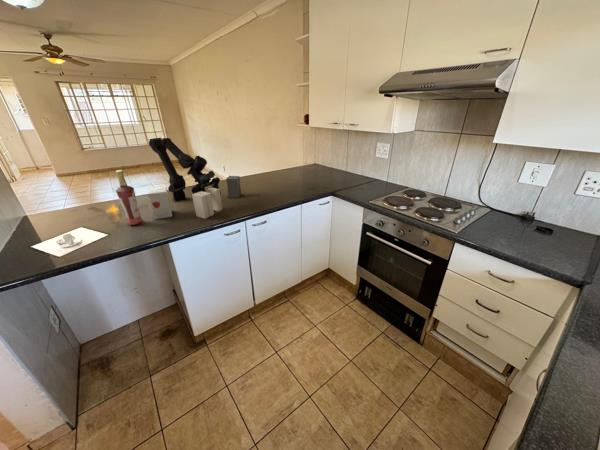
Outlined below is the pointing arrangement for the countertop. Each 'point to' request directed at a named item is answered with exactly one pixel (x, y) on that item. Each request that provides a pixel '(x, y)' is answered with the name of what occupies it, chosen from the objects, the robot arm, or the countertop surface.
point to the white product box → (160, 202)
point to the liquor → (128, 200)
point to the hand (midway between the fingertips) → (215, 196)
